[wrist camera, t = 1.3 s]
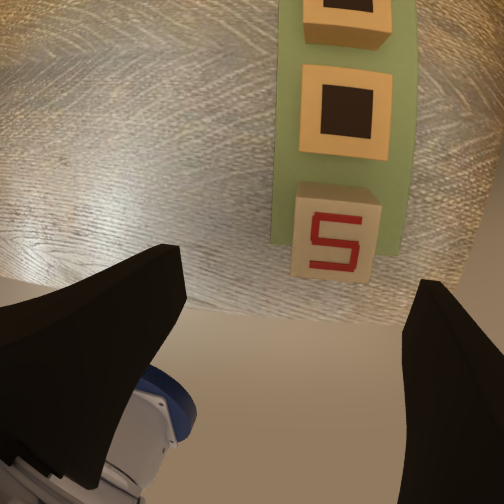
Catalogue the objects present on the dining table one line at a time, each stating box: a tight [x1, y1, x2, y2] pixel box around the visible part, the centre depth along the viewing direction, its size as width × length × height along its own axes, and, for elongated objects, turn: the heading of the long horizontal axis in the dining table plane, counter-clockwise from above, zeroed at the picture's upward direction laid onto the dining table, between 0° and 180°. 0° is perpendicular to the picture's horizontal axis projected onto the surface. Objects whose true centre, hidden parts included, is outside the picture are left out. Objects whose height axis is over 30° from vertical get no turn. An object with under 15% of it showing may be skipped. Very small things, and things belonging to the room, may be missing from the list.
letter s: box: [290, 181, 382, 284], centre depth 16 cm, size 4×4×4 cm
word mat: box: [270, 0, 418, 256], centre depth 13 cm, size 22×8×5 cm, turn 178°
